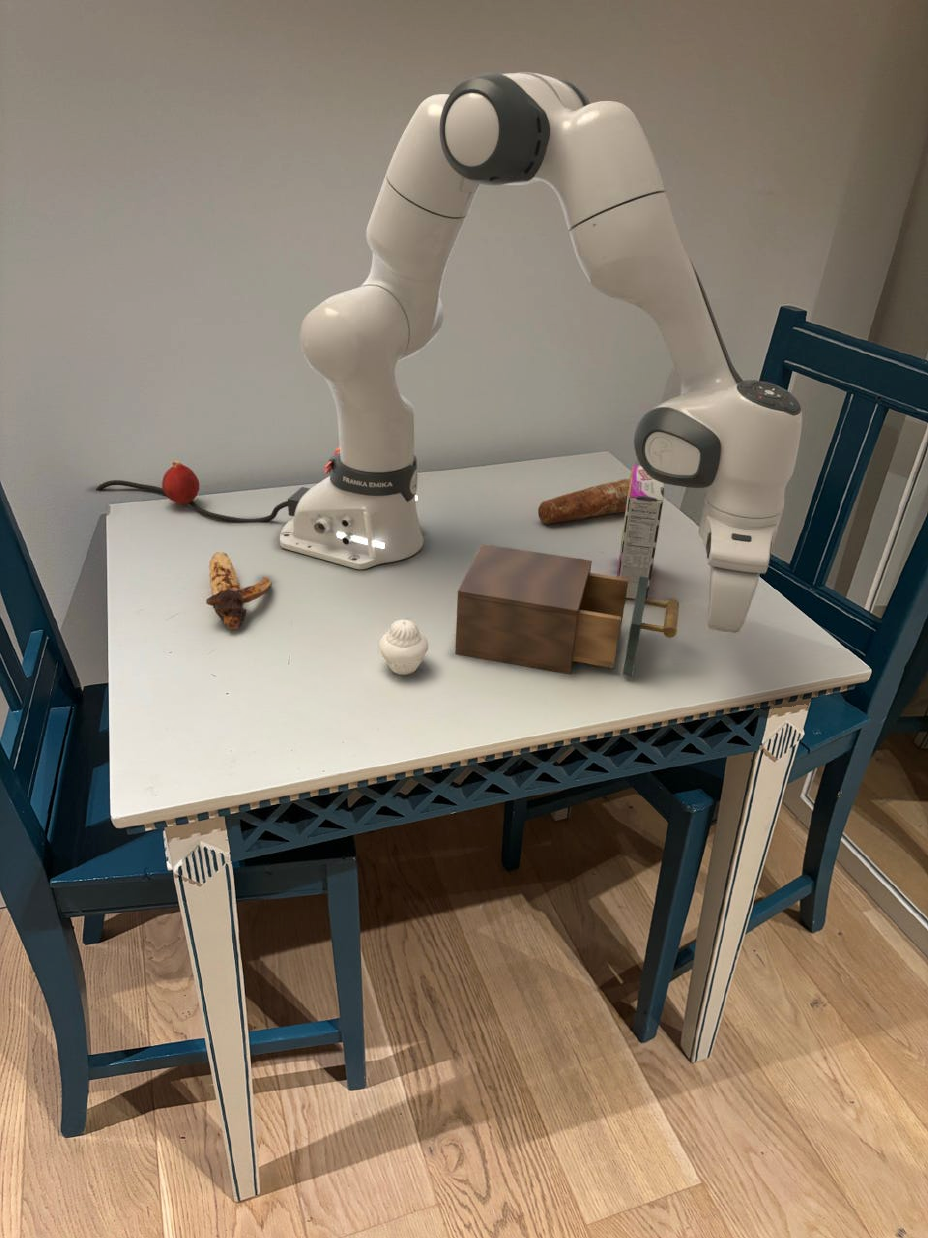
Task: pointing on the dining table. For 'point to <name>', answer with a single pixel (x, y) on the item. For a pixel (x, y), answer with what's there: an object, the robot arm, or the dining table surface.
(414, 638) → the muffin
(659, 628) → the drawer
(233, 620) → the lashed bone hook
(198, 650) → the dining table surface
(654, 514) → the candy bar box
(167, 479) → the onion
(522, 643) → the cabinet
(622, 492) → the bread
